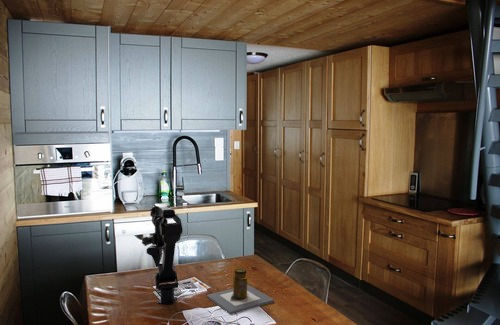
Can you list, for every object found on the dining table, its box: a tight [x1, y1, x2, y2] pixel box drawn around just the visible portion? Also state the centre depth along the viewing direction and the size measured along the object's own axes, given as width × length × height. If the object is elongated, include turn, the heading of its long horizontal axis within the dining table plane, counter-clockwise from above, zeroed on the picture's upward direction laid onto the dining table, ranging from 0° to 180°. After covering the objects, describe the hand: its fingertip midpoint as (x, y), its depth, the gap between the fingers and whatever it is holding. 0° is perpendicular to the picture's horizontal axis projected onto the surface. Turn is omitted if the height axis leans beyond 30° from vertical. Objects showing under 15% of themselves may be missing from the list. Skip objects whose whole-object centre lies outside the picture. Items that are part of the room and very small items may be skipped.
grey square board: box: [206, 284, 275, 315], centre depth 181 cm, size 22×20×1 cm
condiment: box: [230, 267, 249, 302], centre depth 180 cm, size 7×8×12 cm
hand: (161, 263), depth 191 cm, fingers open, 9 cm apart
